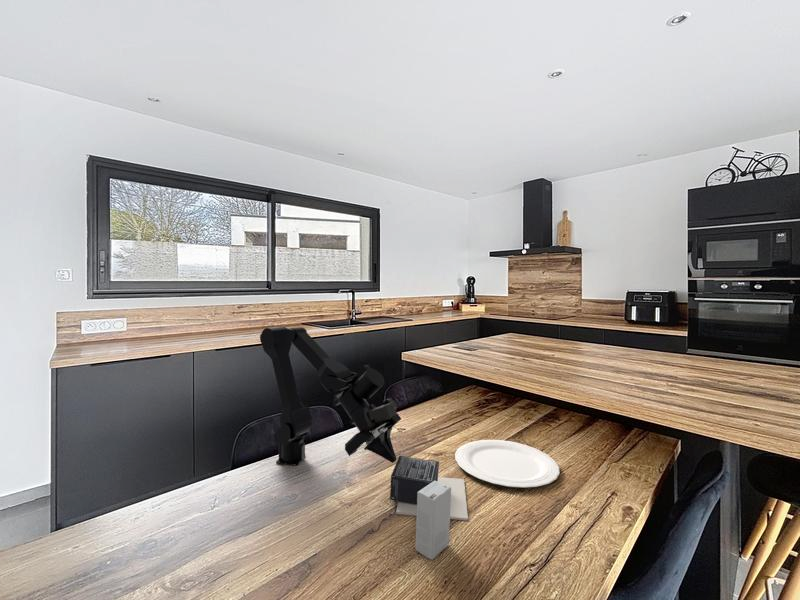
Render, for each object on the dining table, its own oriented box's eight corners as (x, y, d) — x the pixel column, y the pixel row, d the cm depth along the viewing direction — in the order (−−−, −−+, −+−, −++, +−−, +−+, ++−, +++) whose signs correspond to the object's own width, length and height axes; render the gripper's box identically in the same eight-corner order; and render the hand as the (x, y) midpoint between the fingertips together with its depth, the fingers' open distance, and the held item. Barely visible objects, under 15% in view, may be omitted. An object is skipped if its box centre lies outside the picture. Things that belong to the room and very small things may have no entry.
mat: (396, 513, 85) (396, 511, 85) (403, 476, 102) (404, 474, 102) (467, 520, 83) (467, 518, 83) (463, 481, 100) (463, 479, 100)
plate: (574, 466, 111) (575, 460, 110) (532, 508, 89) (532, 500, 89) (486, 437, 130) (486, 431, 130) (434, 465, 109) (434, 459, 109)
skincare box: (432, 535, 78) (433, 478, 78) (450, 545, 75) (452, 486, 75) (413, 551, 74) (415, 490, 73) (432, 562, 71) (434, 499, 70)
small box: (389, 502, 89) (433, 509, 87) (390, 475, 88) (434, 482, 86) (398, 478, 99) (438, 484, 97) (399, 454, 99) (439, 460, 97)
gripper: (355, 400, 87) (397, 459, 82) (395, 382, 103) (431, 430, 98) (328, 427, 91) (366, 485, 86) (370, 406, 107) (404, 453, 102)
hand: (394, 461), depth 93 cm, fingers closed
